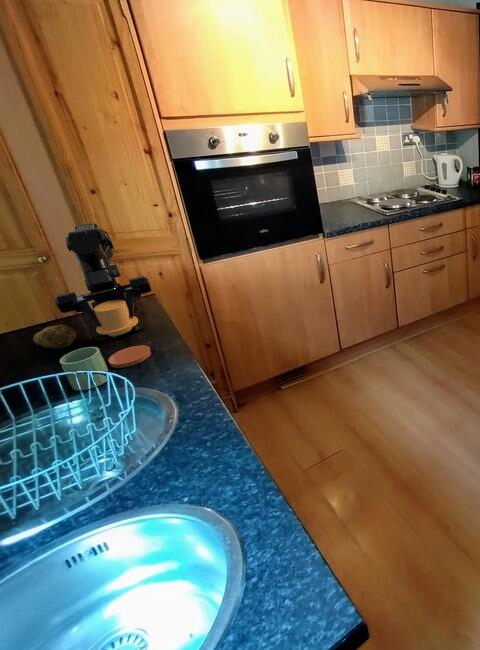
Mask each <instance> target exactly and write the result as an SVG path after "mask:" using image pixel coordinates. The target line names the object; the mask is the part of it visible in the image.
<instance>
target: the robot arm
mask: <svg viewBox="0 0 480 650" xmlns="http://www.w3.org/2000/svg"><path fill="white" fill-rule="evenodd" d="M74 229H75V230H73V231H69V232H67V236H65V245H66V248H67V249H68V251H69V252H72V253H73V255H74V257H75V259H76V260H77V261H78V262H79V266H80V268H81V272H82V274H83V277H84V284H85V286H86V289H87V291H88V292H89V293H85V294H78V295H77V293H76V292H75V291H72V292H66V293H63V294H58V295H56V296H55V298H54V302H55V305H56V307H57V309H58V310H59V311H60V312H61V313H62V314H66V313H70V312H74V311H75V312H76V313H83V314H84V315H85V316H87V317H88V318H89V319H90V320H91V321H92V322H93V323H94V324H95V325H96V326H97V327H101V326H100V323H99V321H98V319H97V316H96V314H95V312H94V308H95V307H96V306H97V305H99V304H101V303H104V302H107V301H112V300H124V301H125V302H126V305H127V307H128V310H129V313H130V316H131V318H133V317H135V316H134V315H135V313H136V311H138V310H139V309H138V306H137V304H136V303H137V301H138V299H139V298H141V297H142V295H144V294H148V293H151V292H152V291H153V290H152V287H151V284H150V281H149V279H148V277H147V276H145V275H142V276H138V277H133V278H129V279H128V284H123V285H121V284H120V283H119V282H117V280H116V278H120V277H122V276H121V272H120V270H119V269H120V268H119V267H118V264H117V263H116V264H111V263H110V260H111V259H112V258H113V257H114V253H113V250H114V249H115V247H114V244H113V241H112V240H111V237H110V235H109V233H108V231H106V230H103V229H102V228H100V227H99V226H98V224H97V223H94V222H91V223H84V224H77V225H76V226H74ZM89 302H91V305H90V303H89ZM140 331H142V327H140V326H137V325H135V326H133V327H132V329H131V330H130V331H128V332H126V333H124V334H121V335H117V336H110V338H112V339H114V340H120V339H123V338H125V337H128V336H130V335H132V334H135V333H137V332H140ZM106 335H107V336H109V335H108V334H106Z"/></svg>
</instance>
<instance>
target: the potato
mask: <svg viewBox="0 0 480 650" xmlns="http://www.w3.org/2000/svg"><path fill="white" fill-rule="evenodd" d="M32 338H33V339H32V341H33V342H34V343H35V344H36V345H37V346H40V347H43V348H47V349H57V350H59V349H63V348H67V347H70V346H71V345H72V344H73V343H74V341H75V340H76V339H77V333H76V331H75V330H74V329H73V328H72V327H70V326H68V325H65V324H57V325H56V324H55V325H50V326H47V327H45V328H43V329H42V330H41V331H38V332H37V333H35V334H34V335H33V337H32Z"/></svg>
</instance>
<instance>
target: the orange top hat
mask: <svg viewBox="0 0 480 650" xmlns="http://www.w3.org/2000/svg"><path fill="white" fill-rule="evenodd" d="M93 312H94V314H95V316H96V317H97V319H98V321H99V323H100V326H101V327H98V326H97V327H96V329H95V331H96V333H97V334H99V335H103V336H105V335H107V334H108V335H107V336H108V337H111V336H117V335H121V334H124V333H126V332H128V331H130V330H131V329H132V327H133V326H137V324H138V323H139V319H138V317H137V316H134V317H133V318H131V316H130V313H129V310H128V307H127V305H126V302H125V301H124V300H112V301H107V302H104V303H101V304H99V305H97V306H96V307H95V308H94V310H93Z"/></svg>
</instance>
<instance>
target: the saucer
mask: <svg viewBox="0 0 480 650" xmlns="http://www.w3.org/2000/svg"><path fill="white" fill-rule="evenodd" d="M151 355H152V351H151V347H149V346H148V345H143V344H142V345H141V344H140V345H132V346H129V347H126V348H122V349H121V350H118V351H116V352H115V353H113V354H112V355H110V357H109V358H108V360H107V361H108V364H109V366H110V367H111V368H114V369H115V368H116V369H123V368H129V367H132V366H135V365H138V364H140V363H142V362H144V361H145V360H147V359H148V358H149V357H150V356H151Z"/></svg>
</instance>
